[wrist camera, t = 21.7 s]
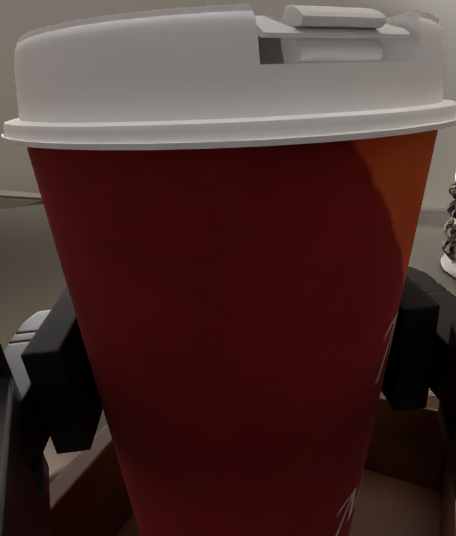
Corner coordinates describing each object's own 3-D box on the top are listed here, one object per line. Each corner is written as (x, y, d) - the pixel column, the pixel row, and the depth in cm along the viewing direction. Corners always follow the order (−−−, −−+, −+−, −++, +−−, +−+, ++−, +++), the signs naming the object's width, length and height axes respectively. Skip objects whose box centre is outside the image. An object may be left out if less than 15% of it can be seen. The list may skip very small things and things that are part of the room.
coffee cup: (438, 622, 11) (623, 3, 5) (155, 817, 9) (-106, -44, 3) (285, 423, 19) (293, 58, 13) (102, 493, 16) (-1, 62, 10)
